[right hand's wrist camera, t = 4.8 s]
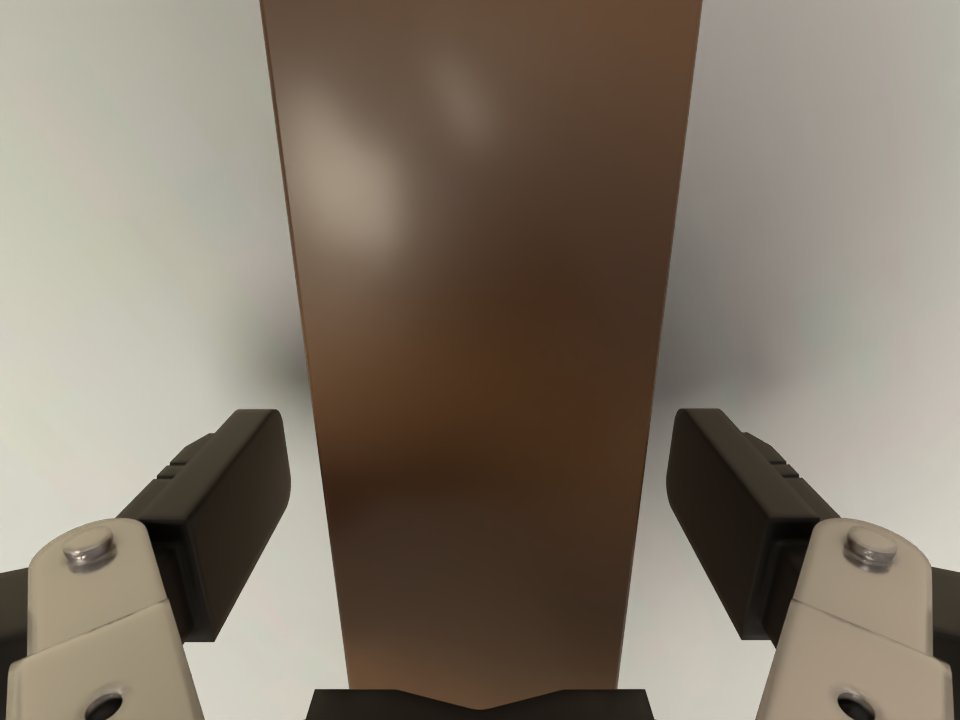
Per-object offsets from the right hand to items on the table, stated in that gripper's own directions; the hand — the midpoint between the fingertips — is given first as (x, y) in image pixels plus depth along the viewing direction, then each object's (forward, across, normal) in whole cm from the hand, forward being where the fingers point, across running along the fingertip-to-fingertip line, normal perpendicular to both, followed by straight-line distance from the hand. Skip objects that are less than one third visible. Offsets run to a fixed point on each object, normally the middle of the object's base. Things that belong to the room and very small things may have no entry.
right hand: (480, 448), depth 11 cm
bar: (+4, 0, -18) cm, 19 cm away
